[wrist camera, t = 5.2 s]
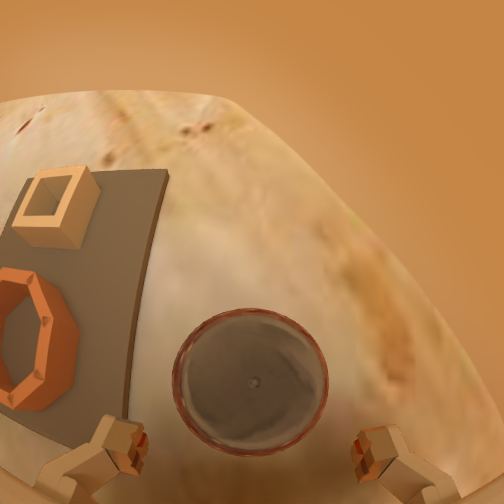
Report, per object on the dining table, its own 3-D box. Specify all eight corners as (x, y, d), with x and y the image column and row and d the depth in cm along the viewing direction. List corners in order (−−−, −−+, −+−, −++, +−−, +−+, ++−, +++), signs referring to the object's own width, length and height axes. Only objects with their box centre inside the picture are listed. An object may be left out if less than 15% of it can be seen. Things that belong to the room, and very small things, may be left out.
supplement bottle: (237, 323, 19) (233, 241, 9) (309, 372, 17) (394, 346, 7) (183, 391, 17) (108, 391, 6) (257, 443, 15) (280, 513, 5)
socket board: (126, 462, 14) (97, 477, 10) (-25, 391, 13) (-57, 384, 9) (169, 176, 25) (159, 139, 21) (31, 183, 24) (13, 158, 20)
